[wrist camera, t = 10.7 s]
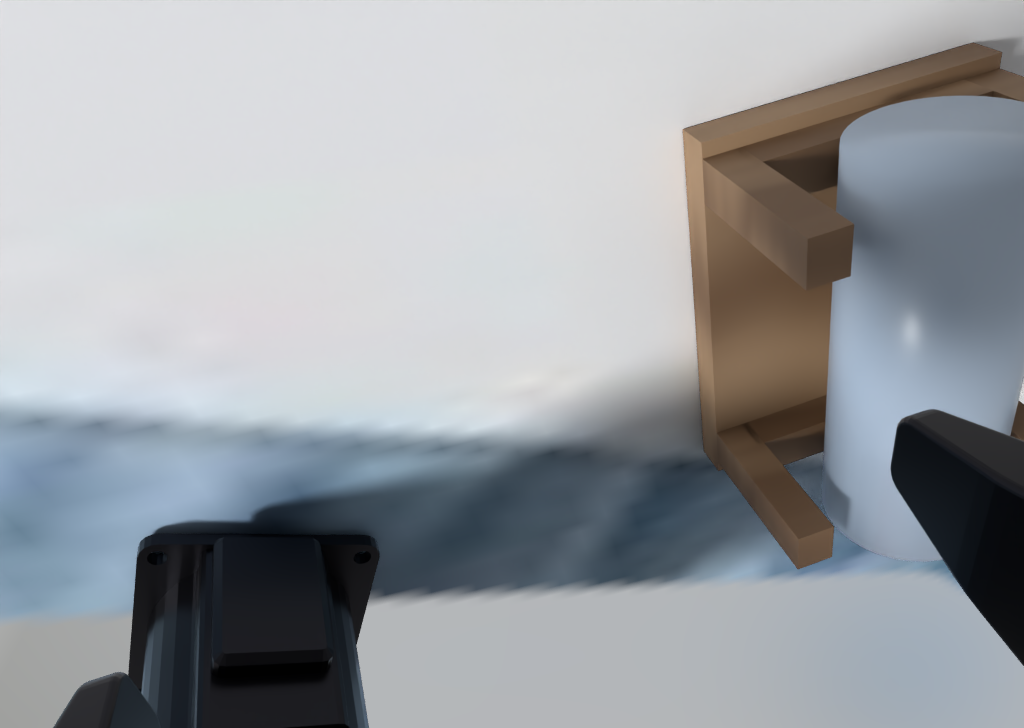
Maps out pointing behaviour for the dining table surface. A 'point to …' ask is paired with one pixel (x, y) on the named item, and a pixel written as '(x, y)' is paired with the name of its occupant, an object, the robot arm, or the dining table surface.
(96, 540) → the dining table surface
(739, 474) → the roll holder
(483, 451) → the dining table surface
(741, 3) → the dining table surface
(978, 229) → the cylinder
